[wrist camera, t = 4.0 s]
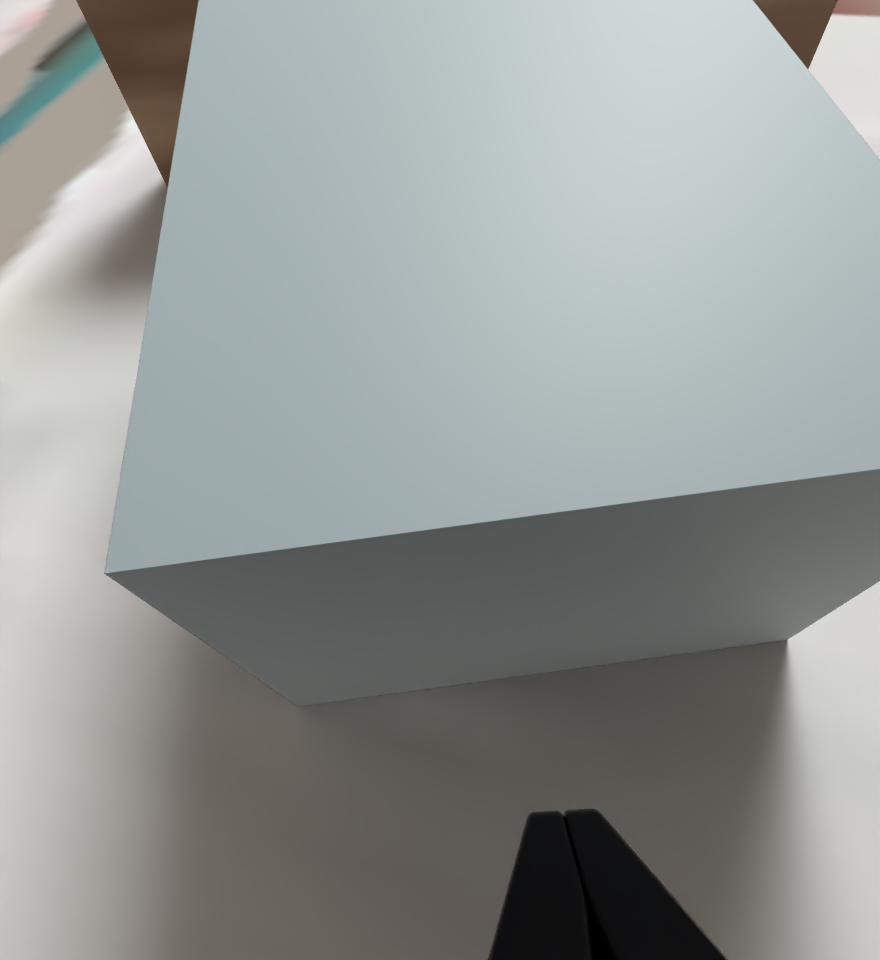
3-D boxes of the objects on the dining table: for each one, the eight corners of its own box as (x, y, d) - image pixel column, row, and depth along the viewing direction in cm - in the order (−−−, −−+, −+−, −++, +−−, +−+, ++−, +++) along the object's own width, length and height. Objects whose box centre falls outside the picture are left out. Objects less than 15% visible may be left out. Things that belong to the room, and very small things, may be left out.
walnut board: (772, 152, 24) (869, -75, 18) (173, 199, 25) (74, -4, 19) (754, 116, 26) (838, -108, 19) (183, 162, 26) (94, -40, 20)
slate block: (784, 641, 15) (1102, 438, 7) (300, 708, 15) (104, 573, 7) (614, 220, 23) (681, -90, 15) (297, 262, 23) (203, -29, 15)
